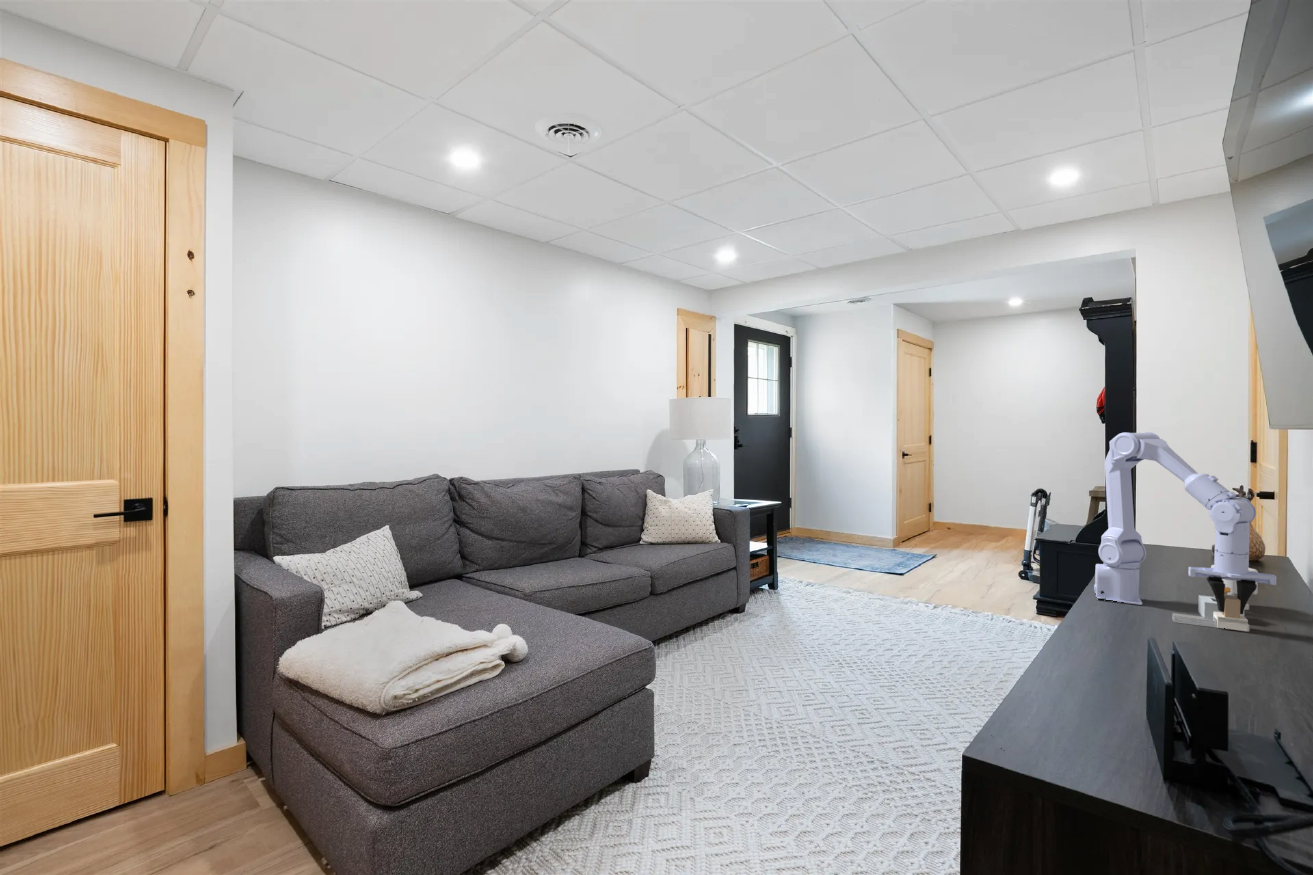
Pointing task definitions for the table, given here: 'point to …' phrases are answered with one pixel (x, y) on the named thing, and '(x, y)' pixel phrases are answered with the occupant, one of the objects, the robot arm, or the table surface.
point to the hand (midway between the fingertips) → (1230, 611)
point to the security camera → (1233, 586)
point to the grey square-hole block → (1208, 606)
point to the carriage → (1231, 615)
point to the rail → (1196, 620)
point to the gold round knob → (1227, 590)
